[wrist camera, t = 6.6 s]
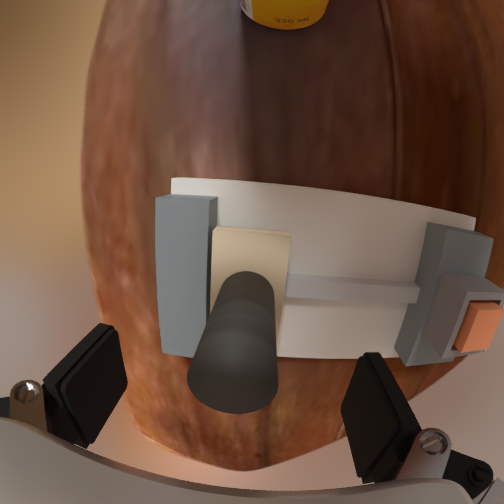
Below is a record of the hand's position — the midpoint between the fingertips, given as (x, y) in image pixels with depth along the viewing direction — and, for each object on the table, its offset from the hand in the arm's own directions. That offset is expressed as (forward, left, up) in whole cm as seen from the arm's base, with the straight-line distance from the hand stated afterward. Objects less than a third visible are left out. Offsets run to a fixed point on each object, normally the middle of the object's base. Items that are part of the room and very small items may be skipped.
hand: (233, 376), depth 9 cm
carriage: (-1, 0, -8) cm, 8 cm away
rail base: (-1, +6, -10) cm, 12 cm away
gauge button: (-1, +14, -6) cm, 15 cm away
